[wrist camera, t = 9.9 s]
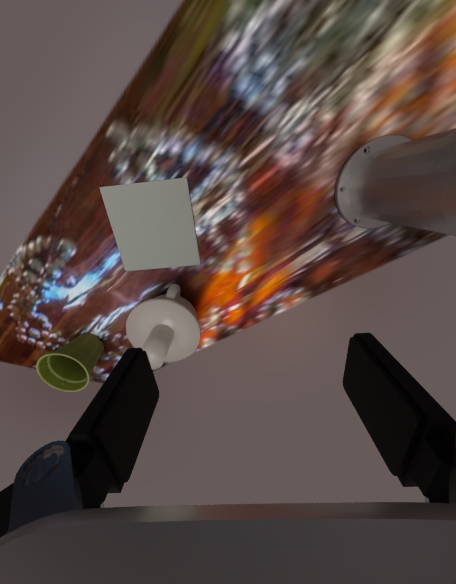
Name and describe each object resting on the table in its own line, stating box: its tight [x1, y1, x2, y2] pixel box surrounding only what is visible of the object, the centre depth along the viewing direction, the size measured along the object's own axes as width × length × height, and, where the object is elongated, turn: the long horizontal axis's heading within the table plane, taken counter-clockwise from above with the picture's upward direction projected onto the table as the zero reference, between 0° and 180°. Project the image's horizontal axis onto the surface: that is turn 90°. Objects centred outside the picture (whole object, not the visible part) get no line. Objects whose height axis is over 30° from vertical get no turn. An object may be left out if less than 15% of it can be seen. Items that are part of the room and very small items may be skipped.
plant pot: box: [36, 334, 104, 392], centre depth 44 cm, size 9×9×9 cm
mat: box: [99, 178, 201, 271], centre depth 37 cm, size 14×14×1 cm
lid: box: [126, 298, 201, 369], centre depth 33 cm, size 12×12×7 cm
